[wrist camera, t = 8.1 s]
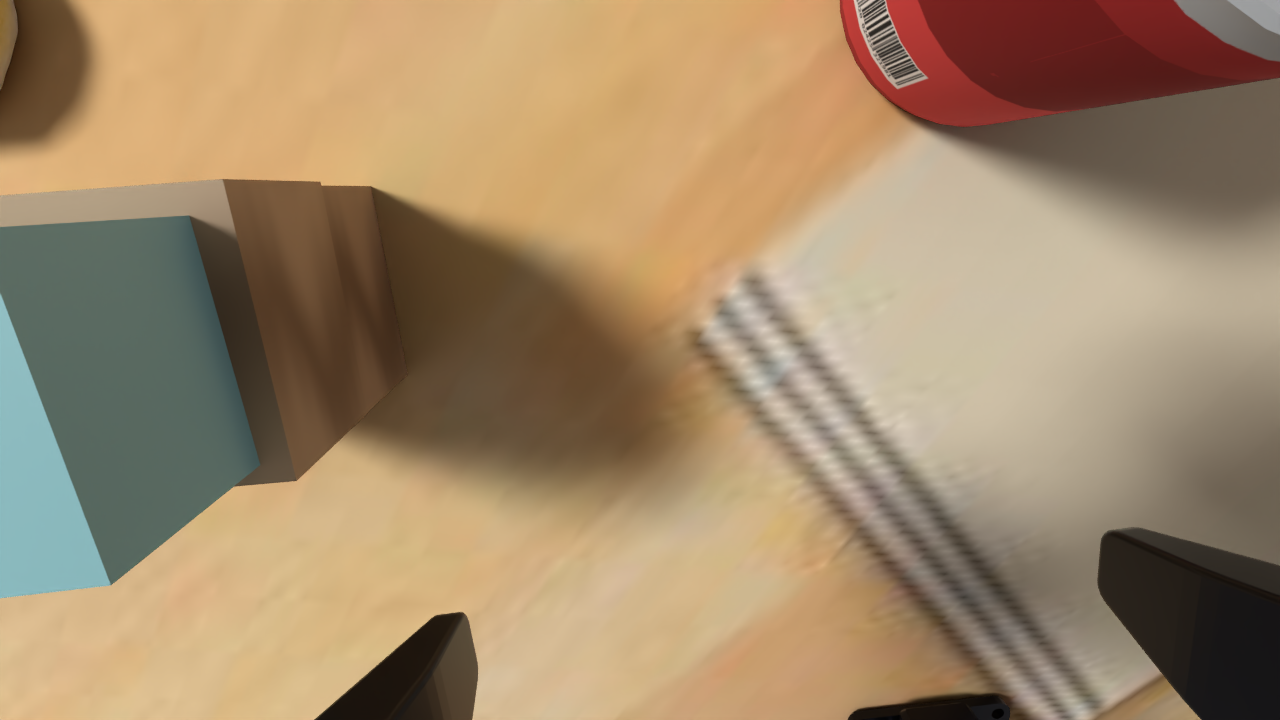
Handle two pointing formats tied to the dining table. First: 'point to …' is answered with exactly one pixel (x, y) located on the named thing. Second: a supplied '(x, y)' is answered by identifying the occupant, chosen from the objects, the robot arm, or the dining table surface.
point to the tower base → (366, 289)
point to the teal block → (108, 399)
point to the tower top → (253, 301)
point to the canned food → (1055, 52)
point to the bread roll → (7, 35)
